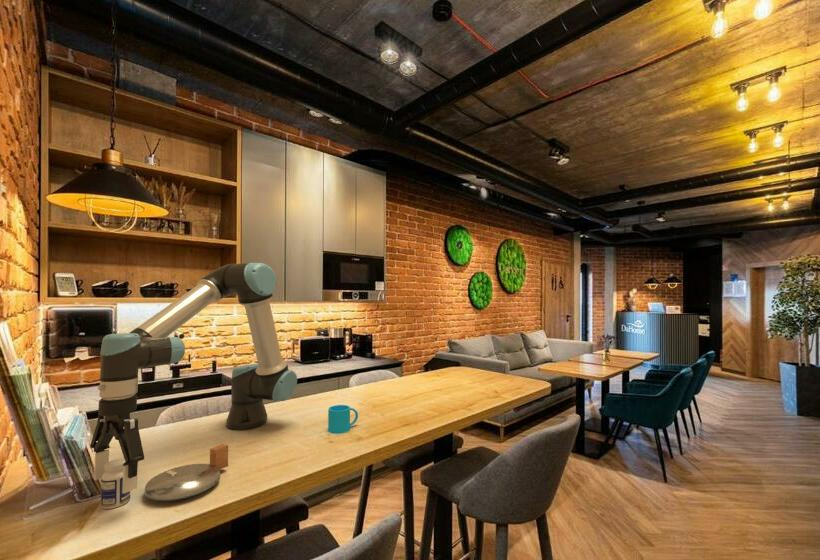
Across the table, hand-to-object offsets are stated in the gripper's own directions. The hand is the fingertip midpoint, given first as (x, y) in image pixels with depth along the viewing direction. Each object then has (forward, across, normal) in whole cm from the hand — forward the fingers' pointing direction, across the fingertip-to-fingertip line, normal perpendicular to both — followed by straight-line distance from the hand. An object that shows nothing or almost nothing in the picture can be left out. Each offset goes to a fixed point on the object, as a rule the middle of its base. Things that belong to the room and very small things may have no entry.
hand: (114, 484), depth 91 cm
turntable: (+3, +8, +14) cm, 17 cm away
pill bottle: (+5, 0, 0) cm, 5 cm away
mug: (+4, +18, +67) cm, 70 cm away
